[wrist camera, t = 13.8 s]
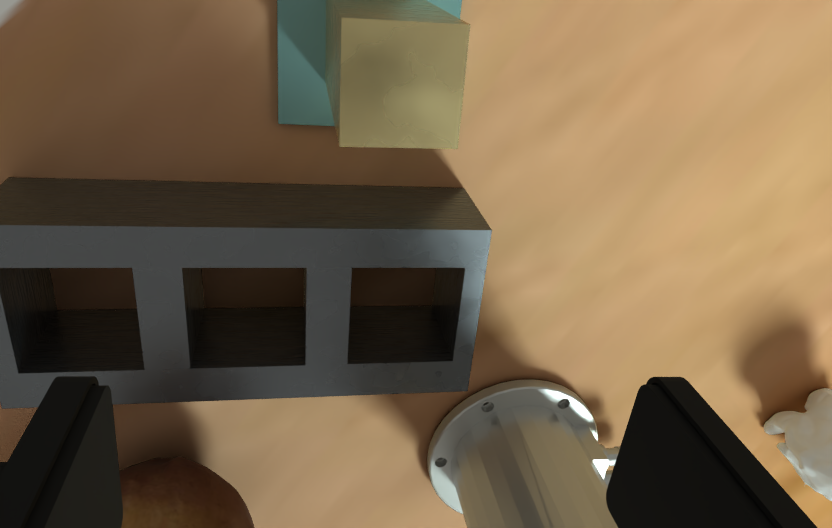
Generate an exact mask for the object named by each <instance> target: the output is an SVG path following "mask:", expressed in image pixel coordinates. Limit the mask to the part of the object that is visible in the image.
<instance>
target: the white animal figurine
mask: <svg viewBox="0 0 832 528" xmlns="http://www.w3.org/2000/svg"><path fill="white" fill-rule="evenodd" d="M805 409H806V410H807V411H806V412H805V413H799V412H796V411H783V412H778V413H776V414H774V415H773V416H772V417H771V418H770V419H769V420H768V421H766V422H765V425H764V431H765V432H766V433H768V434H771V435H775V434H781V433H784V432H785V442H786V443H778V444H777V448H778V449H779V450H780V451H781V452H782V453H783V455H784V456H785V457H786V458H787V459H788V460H789V461H790V462H791V463H792V465H793V467H794V469H795V470H796V472H797V473H798V475H799V476H800V477H801V478H802V480H803V481H804V482H805V484H807V485H808V486H810V487H811V488H812V489H813V490H815V491H816V492H818V493H820V494H822V495H823V496H825V497H826V498H827V499H829V500H830V501H832V390H831V389H829V388H822V389H818V390H815V391H813V392H812V393H810V395H809V396H808V399H807V402H806V404H805Z"/></svg>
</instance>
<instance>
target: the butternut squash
mask: <svg viewBox="0 0 832 528" xmlns="http://www.w3.org/2000/svg"><path fill="white" fill-rule="evenodd" d="M119 474H120V483H121V493H122V503H123V519H122V526H121V528H254V525H253V521H252V518H251V515H250V513H249V511H248V508H247V506H246V504H245V502H244V501H243V499H242V498H241V496H240V494H239V493H238V492H237V490H236V489H235V488H234V487H233V486H232V485H230V484H229V483H228V482H227V481H225V480H224V479H223V478H221V477H220V476H219V475H217V474H216V473H215V472H213V471H211V470H210V469H208V468H207V467H205V466H203V465H200V464H198V463H196V462H194V461H191V460H189V459H186V458H184V457H175V458H155V459H151V460H148V461H145V462H142V463H139V464H136V465H134V466H131V467H128V468H126V469H123V470H121V471H119Z"/></svg>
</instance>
